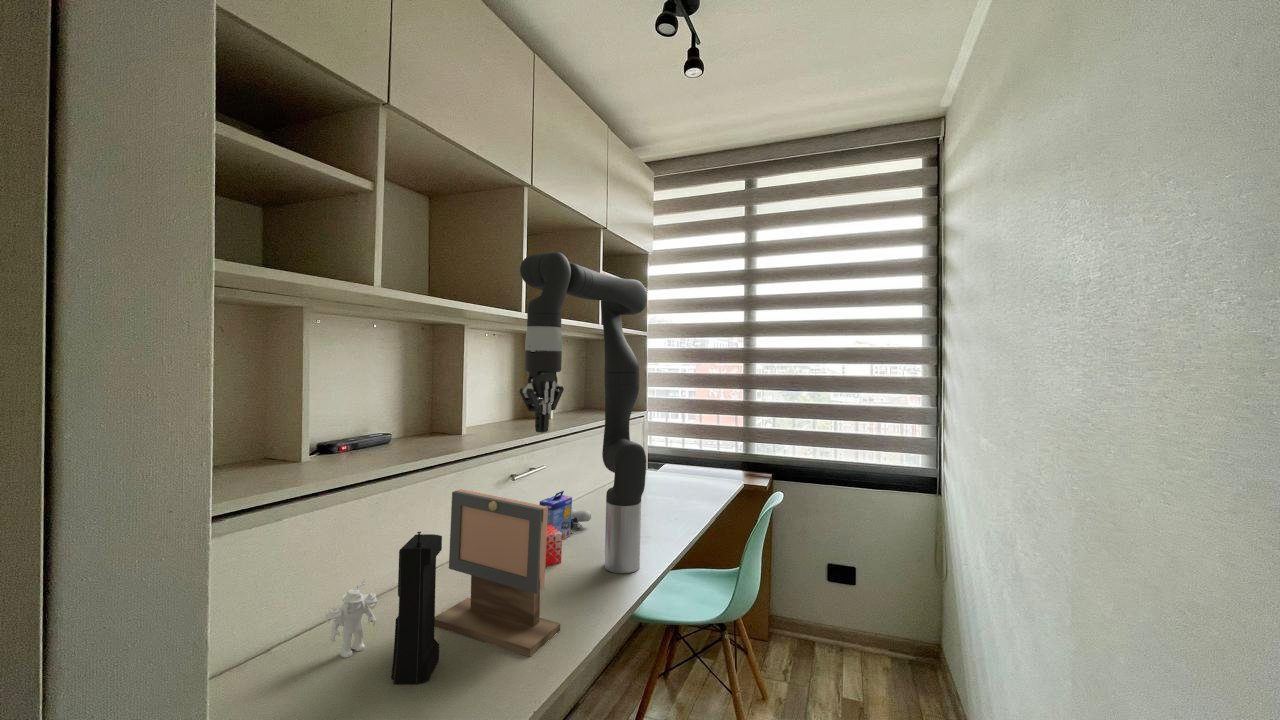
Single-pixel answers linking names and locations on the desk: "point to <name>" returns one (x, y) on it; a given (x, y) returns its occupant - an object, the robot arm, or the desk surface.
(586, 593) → the desk surface
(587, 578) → the desk surface
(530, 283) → the robot arm
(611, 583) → the desk surface
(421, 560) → the portable radio
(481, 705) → the desk surface
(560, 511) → the ink cartridge box
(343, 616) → the hat wearing toy figure
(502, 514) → the picture frame
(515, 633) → the frame stand
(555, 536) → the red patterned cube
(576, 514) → the clip-on lamp
